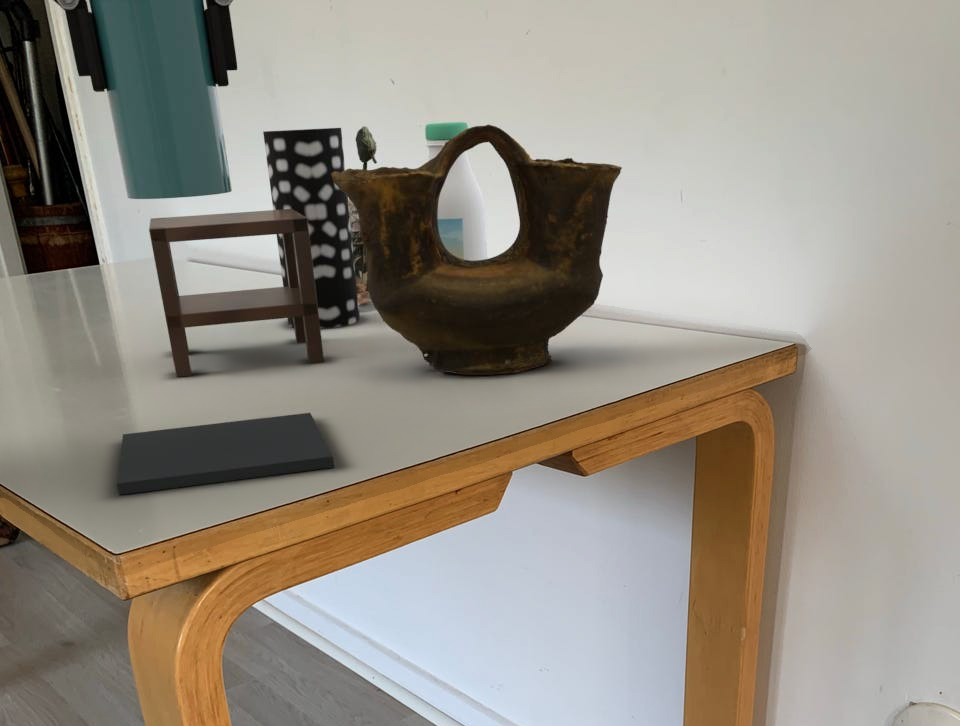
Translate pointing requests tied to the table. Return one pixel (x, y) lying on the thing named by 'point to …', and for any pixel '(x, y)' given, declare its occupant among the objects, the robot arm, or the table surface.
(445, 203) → the milk bottle
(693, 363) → the table surface
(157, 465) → the mat
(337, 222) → the spotted tube
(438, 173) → the pottery vessel
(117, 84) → the teal tin can
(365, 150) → the plant with pod
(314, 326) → the shelf
